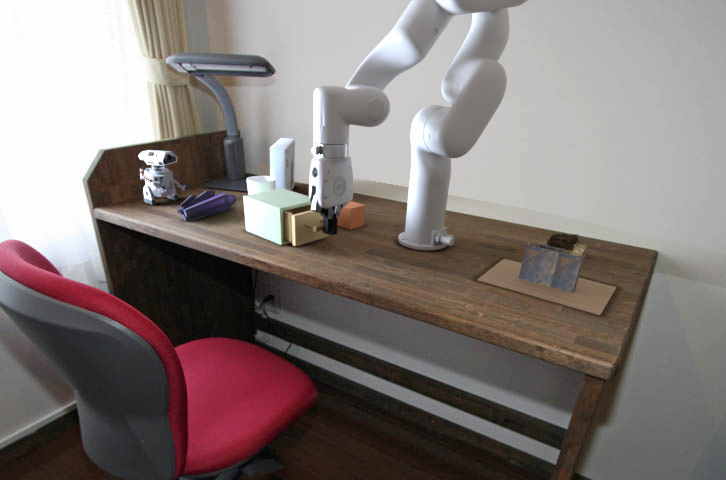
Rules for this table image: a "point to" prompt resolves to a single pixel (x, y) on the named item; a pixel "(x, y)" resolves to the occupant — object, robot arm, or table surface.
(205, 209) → the crystal
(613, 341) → the table surface
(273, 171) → the skincare box
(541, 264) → the ruin model on sheet
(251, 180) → the white cup
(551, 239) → the rock sample
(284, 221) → the drawer
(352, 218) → the plain salmon cube
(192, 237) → the table surface
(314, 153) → the robot arm
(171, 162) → the figurine
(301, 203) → the cabinet
